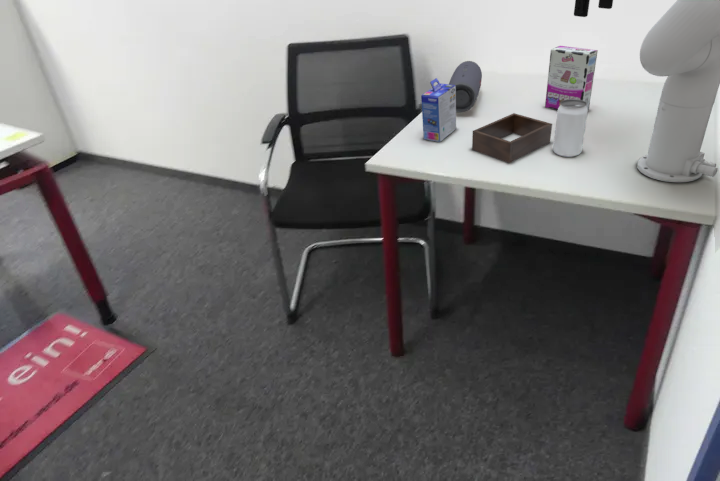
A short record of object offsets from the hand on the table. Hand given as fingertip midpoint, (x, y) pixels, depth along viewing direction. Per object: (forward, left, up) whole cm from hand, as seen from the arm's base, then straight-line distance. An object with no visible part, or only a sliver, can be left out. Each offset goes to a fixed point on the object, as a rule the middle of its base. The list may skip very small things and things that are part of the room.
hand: (592, 12), depth 124 cm
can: (-7, +14, -28) cm, 32 cm away
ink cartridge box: (+24, +26, -28) cm, 45 cm away
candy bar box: (+10, -10, -28) cm, 32 cm away
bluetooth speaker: (+35, +4, -28) cm, 46 cm away
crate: (+5, +20, -28) cm, 35 cm away
